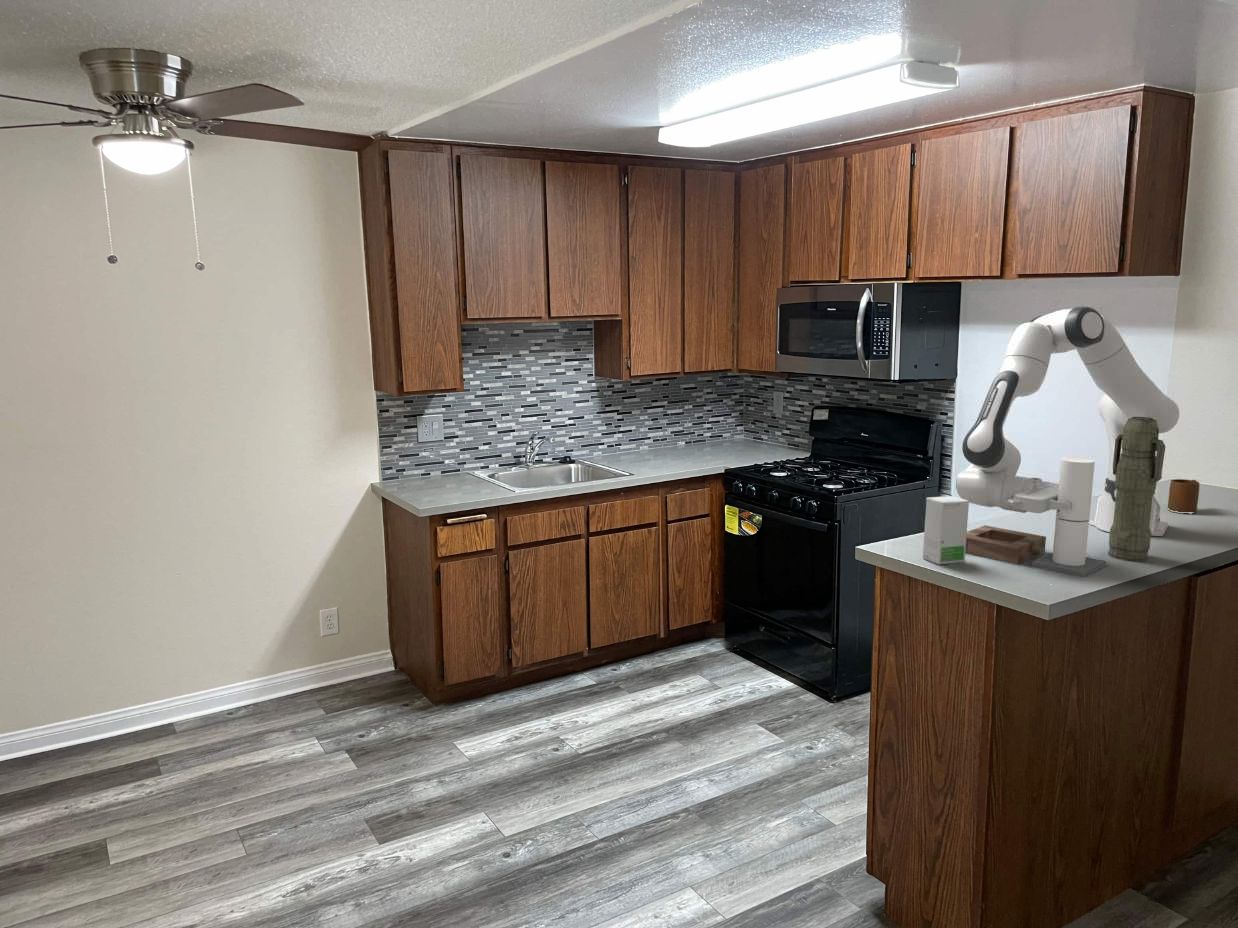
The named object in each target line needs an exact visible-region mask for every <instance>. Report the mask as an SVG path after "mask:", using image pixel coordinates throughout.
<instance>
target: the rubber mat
mask: <svg viewBox="0 0 1238 928" xmlns="http://www.w3.org/2000/svg"><path fill="white" fill-rule="evenodd" d="M1052 556H1053V552H1051V553H1048V554H1047V555H1044V556H1042V557H1040V558H1038V559H1035V560H1033V561H1031V566H1032V567H1034V566H1036V568H1040V569H1044V570H1045V569H1046V570H1049V571H1054V572H1059V573H1064V574H1069V575H1072V576H1077V577H1082V578H1084V577H1086V576H1088V575H1089V574H1091V573H1094V572H1096V571H1097V570H1100V569H1101V568H1104V567H1105V566H1106V565H1107V560H1103V559H1098V558H1093V557H1087V556H1086V558H1085V564H1084V565H1081V566H1069V565H1063V564H1059V563H1056V562H1054V561H1052Z"/></svg>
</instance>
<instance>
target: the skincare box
mask: <svg viewBox="0 0 1238 928" xmlns="http://www.w3.org/2000/svg"><path fill="white" fill-rule="evenodd" d="M969 505H970V503H969V501H968V500H964V499H962V498H961V497H956V496H953V495H952V496H931V497H926V503H925V518H924V519H925V520H924V532H923V548H922V559H923V560H926V561H929V562H931V563H934V564H937V565H945V564H957V563H958V562H959V563H965V560H966V553H965V549H966V535H967V532H968V521H969V518H968V517H969V509H970V508H969ZM959 563H958V564H959Z"/></svg>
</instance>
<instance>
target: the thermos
mask: <svg viewBox="0 0 1238 928" xmlns="http://www.w3.org/2000/svg"><path fill="white" fill-rule="evenodd" d="M1159 434H1160V433H1159V429H1158V425H1157V421H1156V420H1153V418H1148V417H1131V418H1129V419H1128V420H1127V422H1126V424H1125V427H1124V429H1123V434H1121V435H1119V436H1118V437H1117V438H1116V439H1115V449H1114V459H1113V474H1114V475H1116V476H1115V477H1116V479H1115V487H1116V490H1117V491H1116V501H1115V511H1114V520H1113V525H1112V526H1111V528H1110V532H1109V537H1108V546H1109V547H1108V552H1107V553H1108V556H1109V557H1110V558H1114V559H1117V560H1121V561H1128V562H1145V561H1147V560H1148V559H1149V551H1150V547H1151V539H1152V538H1151V537H1152V536H1151V531H1150V528H1149V526H1150V516H1151V507H1152V498H1153V492H1154V491H1155V492H1156V488H1157V483H1158V482H1159V481H1161V480H1162V475H1163V468H1164V467H1163V466H1164V459H1165V452H1166V445H1165V442H1164V441H1163V439H1159ZM1121 443H1122V454H1121V457H1120V453H1121ZM1156 482H1157V483H1156Z"/></svg>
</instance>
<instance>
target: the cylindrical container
mask: <svg viewBox="0 0 1238 928" xmlns="http://www.w3.org/2000/svg"><path fill="white" fill-rule="evenodd" d="M1095 462H1096V460H1095V459H1090V458H1086V457H1075V456H1074V457H1073V456H1072V457H1071V456H1068V457H1062V458H1061V459H1060V469H1059V481H1058V484H1059V489H1058V501H1061V502H1064V501H1066V502H1071V503H1072V509H1070V510H1068V511H1067V510H1056V514H1055V525H1054V534H1053V546H1052V547H1053V548H1052V553H1053V556H1052V561H1054V562H1056V563H1059V564H1063V565H1069V566H1081V565H1084V564H1085V558H1086V557H1087V547H1088V536H1089V526H1090V524H1089V522H1090V514H1091V507H1092V506H1091V504H1092V496H1093V487H1094V486H1093V484H1094V483H1093V482H1094V474H1095V473H1094V472H1095Z"/></svg>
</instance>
